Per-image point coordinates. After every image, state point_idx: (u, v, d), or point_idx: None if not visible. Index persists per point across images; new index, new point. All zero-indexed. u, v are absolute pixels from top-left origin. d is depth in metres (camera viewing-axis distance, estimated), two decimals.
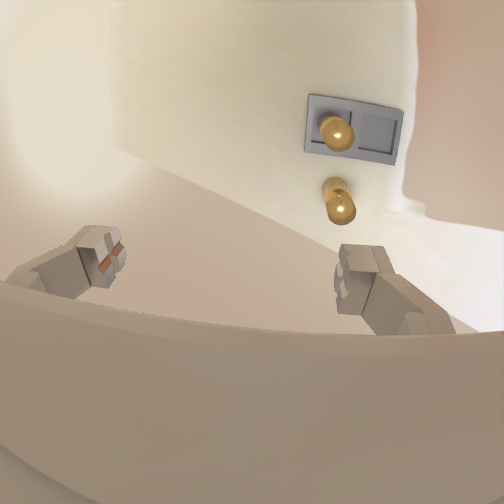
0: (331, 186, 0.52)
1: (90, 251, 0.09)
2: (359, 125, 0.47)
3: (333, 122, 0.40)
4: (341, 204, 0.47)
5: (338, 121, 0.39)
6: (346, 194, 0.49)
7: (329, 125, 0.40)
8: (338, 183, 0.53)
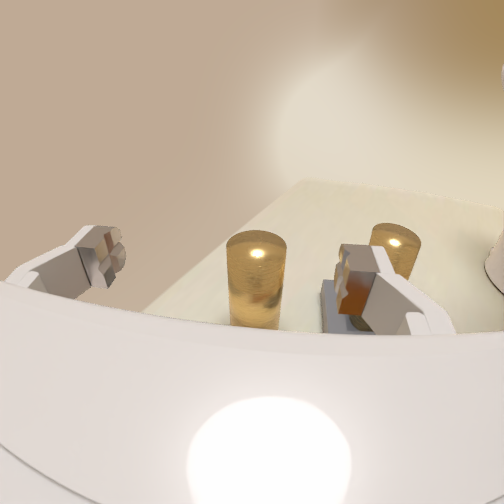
0: None
1: (90, 251, 0.09)
2: None
3: (412, 232, 0.26)
4: (273, 244, 0.25)
5: (416, 237, 0.25)
6: (282, 277, 0.25)
7: (405, 228, 0.26)
8: None
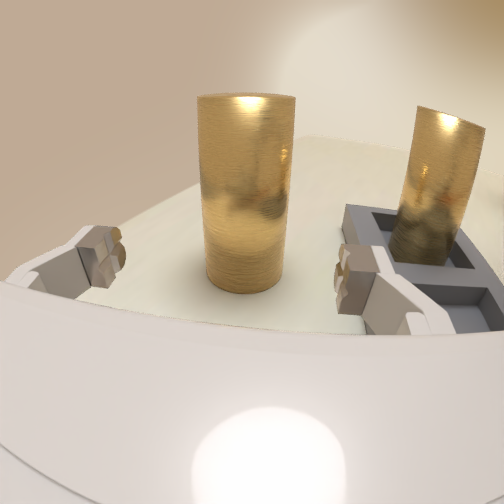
0: None
1: (90, 251, 0.09)
2: (460, 282, 0.15)
3: (466, 121, 0.15)
4: (274, 95, 0.14)
5: (474, 124, 0.14)
6: (290, 146, 0.14)
7: (457, 117, 0.15)
8: None
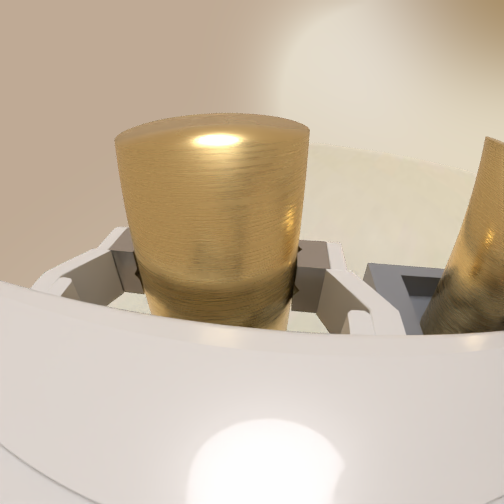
0: None
1: (127, 255, 0.09)
2: None
3: None
4: (267, 124, 0.07)
5: None
6: (296, 231, 0.08)
7: None
8: None
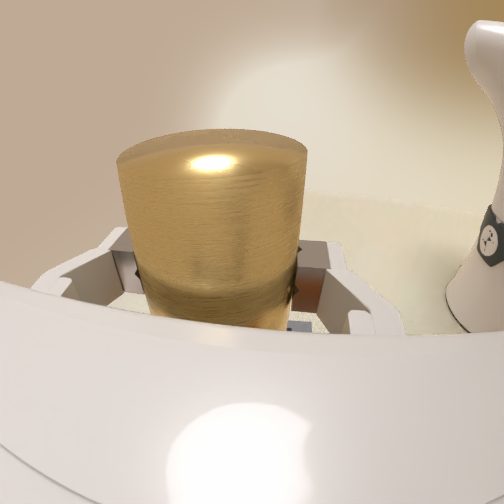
0: None
1: (127, 255, 0.09)
2: None
3: None
4: (266, 144, 0.07)
5: None
6: (294, 249, 0.08)
7: None
8: None
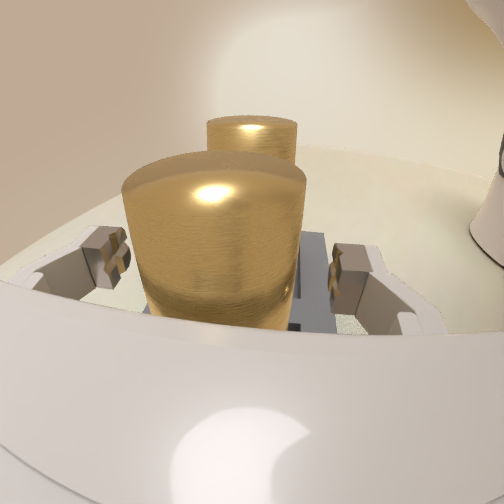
0: None
1: (95, 251, 0.09)
2: None
3: (289, 121, 0.16)
4: (266, 171, 0.08)
5: (294, 123, 0.15)
6: (292, 273, 0.08)
7: (280, 118, 0.16)
8: None
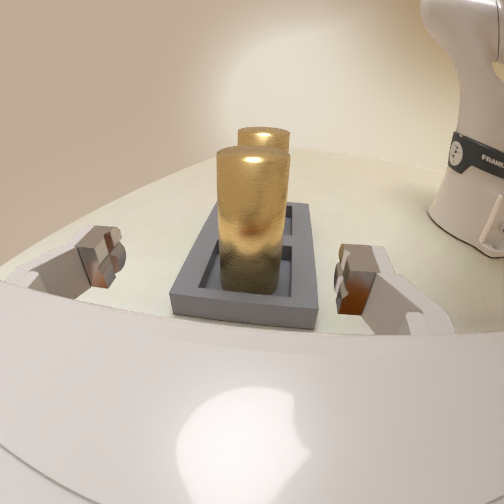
0: None
1: (90, 251, 0.09)
2: None
3: (285, 130, 0.28)
4: (274, 153, 0.19)
5: (287, 132, 0.27)
6: (285, 194, 0.20)
7: (279, 129, 0.28)
8: (282, 244, 0.23)
